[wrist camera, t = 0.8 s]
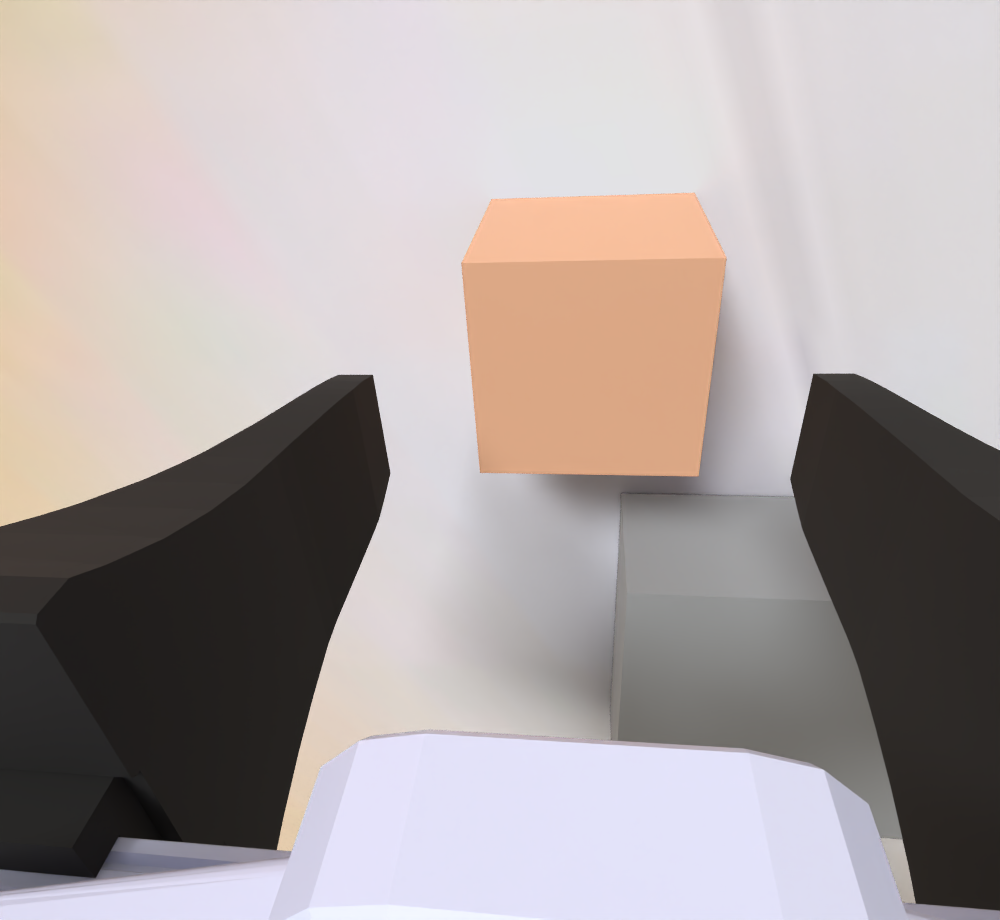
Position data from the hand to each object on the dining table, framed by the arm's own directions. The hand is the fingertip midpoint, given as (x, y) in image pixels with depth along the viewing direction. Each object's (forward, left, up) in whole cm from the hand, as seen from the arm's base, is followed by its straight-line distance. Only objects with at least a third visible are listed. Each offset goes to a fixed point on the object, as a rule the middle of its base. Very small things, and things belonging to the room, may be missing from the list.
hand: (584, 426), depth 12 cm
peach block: (0, 0, -6) cm, 6 cm away
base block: (-6, +11, -6) cm, 14 cm away
